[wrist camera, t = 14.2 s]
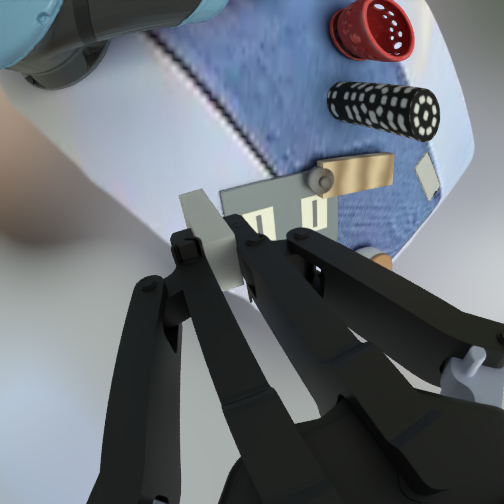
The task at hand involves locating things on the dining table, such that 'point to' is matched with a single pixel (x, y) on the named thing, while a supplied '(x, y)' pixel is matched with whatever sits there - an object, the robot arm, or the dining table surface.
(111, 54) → the dining table surface
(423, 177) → the smartphone
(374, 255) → the lidded jar
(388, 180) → the swing arm
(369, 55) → the plant pot
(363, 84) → the spotted tube
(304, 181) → the label panel
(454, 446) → the robot arm
